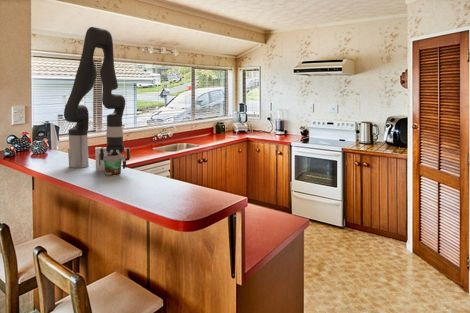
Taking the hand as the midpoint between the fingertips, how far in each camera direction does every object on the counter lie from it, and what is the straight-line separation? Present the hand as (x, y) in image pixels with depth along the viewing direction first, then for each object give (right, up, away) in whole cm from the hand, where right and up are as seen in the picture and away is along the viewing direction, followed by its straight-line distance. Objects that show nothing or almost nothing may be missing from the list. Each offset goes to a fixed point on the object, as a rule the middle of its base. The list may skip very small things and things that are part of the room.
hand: (115, 168), depth 177 cm
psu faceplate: (-7, -1, +8) cm, 11 cm away
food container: (0, -3, +1) cm, 3 cm away
